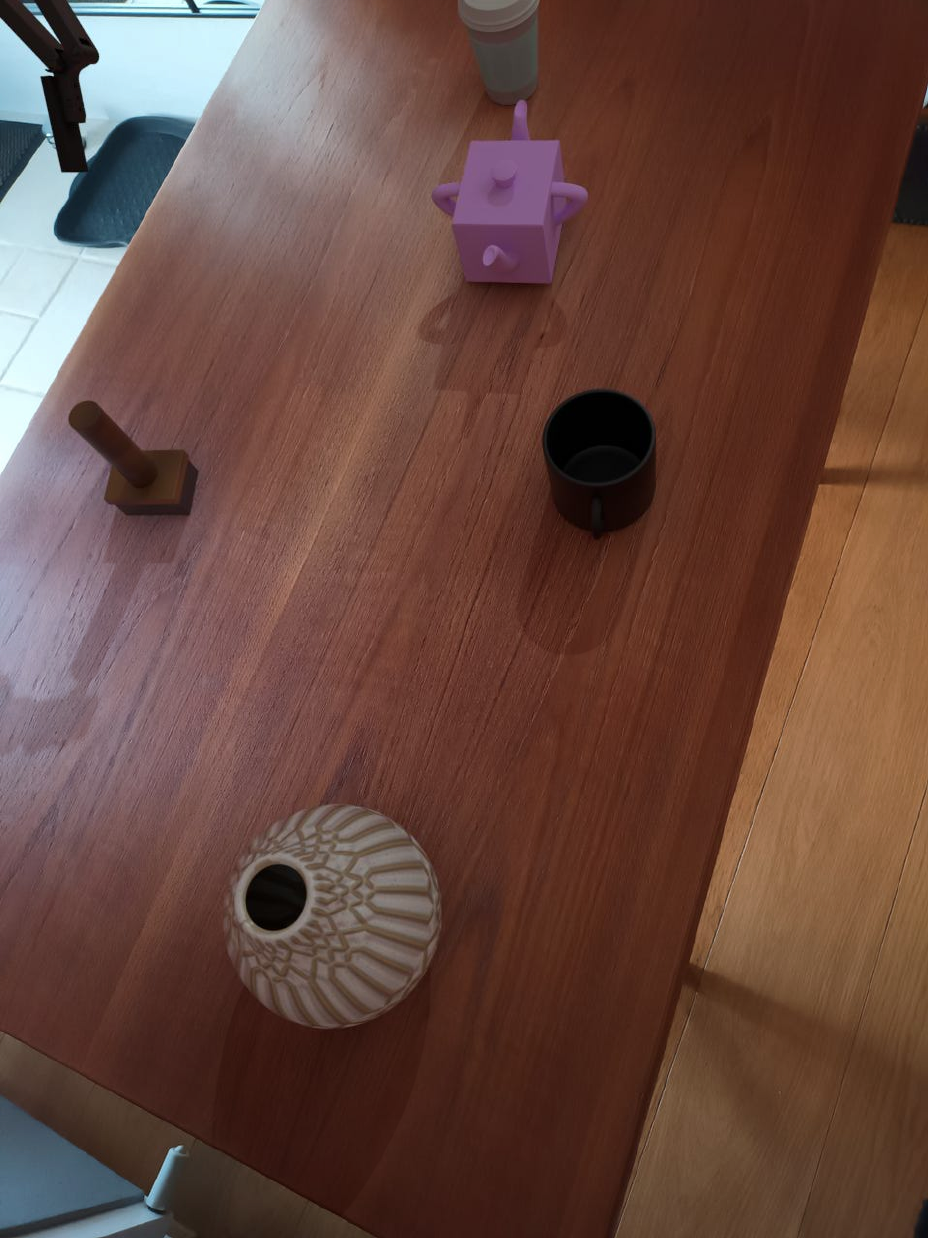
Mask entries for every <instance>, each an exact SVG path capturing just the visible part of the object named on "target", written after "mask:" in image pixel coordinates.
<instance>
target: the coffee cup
mask: <svg viewBox="0 0 928 1238" xmlns="http://www.w3.org/2000/svg"><path fill="white" fill-rule="evenodd" d="M540 1H541V0H457V13H458V16H459V18H460V20H461V21H462V23H463V24H464V25H465V29H466V32H467V35H468V39H469V41H470V44H471V47H472V50H473V54H474V57H475V60H476V64H477V66H478V68H479V72H480V76H481V79H482V82H483V85H484V88H485V91H486V94H487V96H488V98H489V99H490V100H491V101H492V102H494V103H496V104H498V105H502V106H512V105H516V104H517V103H518V102H519V101H520V100H525V101H526V100H528V99H529V98H530V97H531V96H532V95H533V94H534V93H535V91H536V90H537V88H538V83H539V82H538V81H539V43H538V42H539V4H540Z"/></svg>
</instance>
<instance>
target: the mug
mask: <svg viewBox="0 0 928 1238" xmlns="http://www.w3.org/2000/svg"><path fill="white" fill-rule="evenodd" d="M543 427H544V428H543V431H542V435H541V436H542V437H541V447H542V453H543V457H544V462H545V467H546V472H547V476H548V481H549V487H550V492H551V497H552V500H553V503H554V506H555V507H556V510H557V511H558V513H560V515H561V517H563V518H564V519H565V520H566V521H567V522H568V523H569V524H572V525H573V526H575V527H577V528H579V529H581V530H585V531H588V532H591V536H592V538H593V540H594V541H600V540H601V539H602V538H603V536H604V533H609V532H614V531H619V530H621V529H623V528H626V527H628V526H630V525H632V524H633V523H635V522H636V521H637V520H638V519H640V518H641V517H642V516H643V515H644V514H645V513H646V512H647V511H648V508H649V507H650V506H651V503H652V502H653V499H654V496H655V493H656V487H657V485H656V484H657V483H656V482H657V481H656V479H657V478H656V477H657V476H656V475H657V471H656V470H657V432H656V431H657V430H656V425H655V422H654V419H653V417H652V415H651V413H650V412H649V410H648V408H647V407H646V406H645V405H644V404H643V403H642V402H641V401H639V400H638V399H637V398H636V397H634V396H633V395H630V394H628V393H626V392H624V391H621V390H617V389H613V388H612V389H611V388H594V389H593V388H592V389H587V390H583V391H580V392H578V393H577V392H576V393H575V394H572V395H571V396H570V397H567V398H566V399H565V400H563V401H562V402H561V403H560V404H559V405H557V406H556V407H555V409H554V410H553V411H552V412H551V413H550V415H549V416H548V418H547V420H546V422H545V424H544V426H543Z"/></svg>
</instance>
